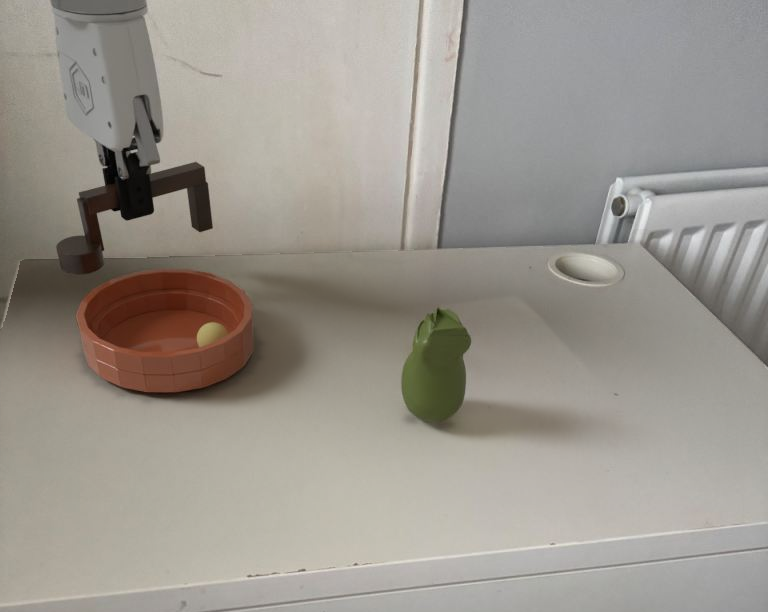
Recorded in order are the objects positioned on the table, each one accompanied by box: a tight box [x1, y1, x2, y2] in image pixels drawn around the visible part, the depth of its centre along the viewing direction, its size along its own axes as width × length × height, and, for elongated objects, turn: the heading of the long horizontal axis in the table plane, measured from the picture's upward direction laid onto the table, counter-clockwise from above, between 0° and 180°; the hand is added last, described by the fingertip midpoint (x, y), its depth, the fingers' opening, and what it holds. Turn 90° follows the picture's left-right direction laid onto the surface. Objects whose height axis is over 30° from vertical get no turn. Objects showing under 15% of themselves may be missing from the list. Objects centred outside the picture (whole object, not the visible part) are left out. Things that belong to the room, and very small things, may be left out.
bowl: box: [75, 268, 255, 393], centre depth 77 cm, size 15×15×4 cm
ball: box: [197, 322, 229, 347], centre depth 76 cm, size 3×3×3 cm
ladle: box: [55, 161, 214, 276], centre depth 80 cm, size 16×4×6 cm, turn 131°
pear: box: [400, 306, 472, 423], centre depth 70 cm, size 6×5×10 cm
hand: (131, 210), depth 80 cm, fingers closed on ladle
